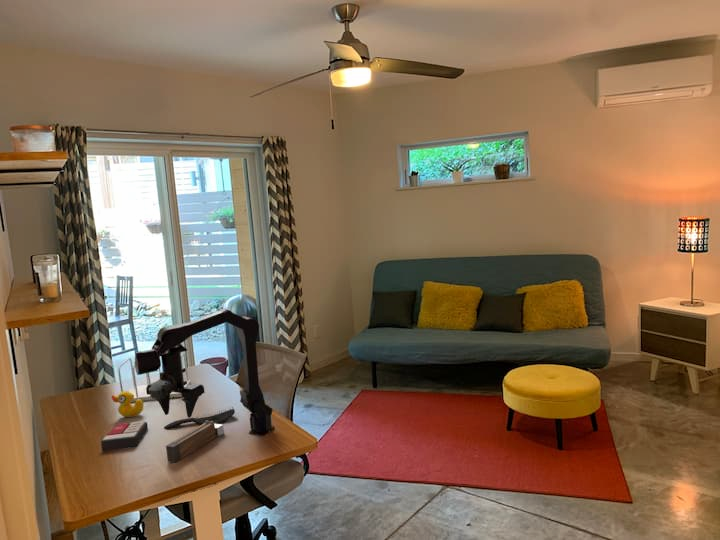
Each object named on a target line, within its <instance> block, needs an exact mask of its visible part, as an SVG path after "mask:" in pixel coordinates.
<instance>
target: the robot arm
mask: <svg viewBox="0 0 720 540" xmlns="http://www.w3.org/2000/svg"><path fill="white" fill-rule="evenodd" d="M225 323H227V324H229V325H231V326H234V327H236V332H237V336H238V338H239V340H240V343H241V348H242V360H243V372H244V388H243V389H242V390H239V395H240V400H239V402H240V403H241V404H242V406H243V407H244V408H245V409H247V410H248V411H249V412H250V414H249V416H250V417H249V426H250V430H249V431H248V434H252V435H259V436H265V434H266V435H267V434H268V433H269V431H270V432H271V431H273V430H274V429H275V426H274V425H272V424H273V423H272V414H273V408H272V407H271V406H269V405H267V404H266V402H265V396H264V393H263V391H262V389H261V386H260V380H259V370H258V369H259V368H258V367H259V366H258V356H257V354H258V353H257V342H258V339H259V335H260V324H259V321H258V320H256V319H255V318H252V317H249V316H245V315H244V316H240V315H239V314H236V313H234V312H233V311H231V310H230V309H227V308H222V309H220V310H218V311H214V312H213V313H210V314H207V315H204V316H202V317H198V318H196V319H194V320H191V321H188V322H186V323H177V324H171V325H165V326H163V327H161V328H160V329H159V330H158V332H157V335H156V340H155V341H154V344H153V345H152V347H151V349H149V350H143V351H135V353H134V364H135V369H134V370H135V373H136V374H137V376H140V375H146V373H147V374H148V373H149V374H150V373H154V372H159V369H160V370H161V369H162V368H163V372H161V373H160V375H159V379H158V380H156V381H154V382H152V383H151V384H149V385H148V386H147V388H146V392H147V394H148V395H150V396H151V397H152V398H154V399H155V400H156V401H157V402H158V404H159V405H160V408H161V410H162V411H163V413H164V414H165V416H167V415H169V412H170V404H171V403H170V401H171V398H170V394H171V393H172V392H176V393H181V395H182V397H181V398H182V399H181V401H183V403H185V404H184V405H185V411H186V414H187V415H186V417H187V419H188V418H192V415H193V413H194V409H195V406H196V404H197V402H198V399H199V397H202V395H203V394H205V393H206V392H205V387H204V385H203V384H200V383H191V384H190V385H189V386H187V387H184V385H186V384H187V380H184V373H186V368H185V367H183V362H182V357H181V354H182V353H184V352H187V351H188V348H186V347H185V346H183V345H182V343H184V342H185V341H187V340H188V339H189V338H190V337H192V336H194V335H196V334H199V333H202V332H205V331H207V330H210V329H212V328H215V327H218V326H220V325H223V324H225ZM178 389H179V390H178Z"/></svg>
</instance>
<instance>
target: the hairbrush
mask: <svg viewBox="0 0 720 540" xmlns="http://www.w3.org/2000/svg"><path fill="white" fill-rule="evenodd" d="M222 411H223V412H222ZM235 412H236V411H235V408H234V407H233V406H231V408H225V409H222V410H219V411H217V412H216V413H213V414H204V417H202V416H199V415H197V416H196V417H190V418H188V417H187V418H181V419H179V420H174V421H172V422H170V423H169V424H166V425H164V426H163V430H170V429H173V428H175V427H178V426H180V425H183V424H188V423H195V424H198V425H200V424H201V425H202V424H204V423H205V421H207V420H208V422H210V421H213V422H214V423H215V424H220V423H221V424H223V423H224V422H226V421H228V420H229V419H231V418H232V417H233V416H234V415H235Z"/></svg>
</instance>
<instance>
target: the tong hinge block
mask: <svg viewBox="0 0 720 540" xmlns="http://www.w3.org/2000/svg"><path fill="white" fill-rule="evenodd" d="M214 425H215V434H216V437H215V438H220V437H221V436H222V435H224V433H225V432H224V431H225V430H224V424H223V423H221V424H215V423H214Z"/></svg>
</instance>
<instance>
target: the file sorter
mask: <svg viewBox="0 0 720 540" xmlns="http://www.w3.org/2000/svg"><path fill="white" fill-rule="evenodd" d="M182 357H183V358H184V365H185V366H184V368H185V370H186V371H185V375H186V381H187V384H186V385H184V387H187V386H189V385H191V384H192V381H191V379H189V374H188V366H187V359H186V358H187V357H186V354H185V353H184V352H181V358H182ZM128 361H130V367H131V374H132V382H133V386H132V387H131V388H130V389H129V390H127V391H128V392H130V393H132V394H133V395H134V398H133V400H132V402H131V403H134V402H133V401H136V400H137V399H141V400H142V401H143V402H146V401H154V400H156V399H154V398H152V397H151V396H150V395H148V394H147V392H146V388H147V386H148V385H149V384H151V377H150V373H145V376H146V383H147V384H143V385H137V380H136V374H135V373H136V369H135V363H134V364H133V361H132V359H131V357H128V358H127V359H126V360H124V361H123V362H121V363H120V364H119V366H118V369H117V371H118V379H119V386H120V393H121V392H123V391H124V390H123V383H122V376H121V367H122V366H124V365H125V364H126V363H127V362H128ZM161 371H162V372H163V368H162V367H161V368H160V369H158V372H159V376H160V373H161ZM178 390H179V389H178ZM173 397H174V398H183V397H182V395H181V393H176V392H172V393H171V394H170V399H172V398H173ZM174 398H173V399H174ZM145 400H146V401H145Z"/></svg>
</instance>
